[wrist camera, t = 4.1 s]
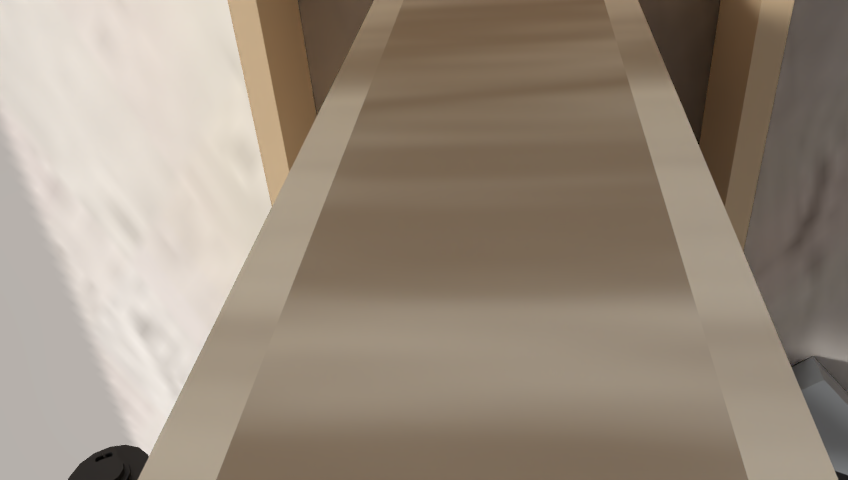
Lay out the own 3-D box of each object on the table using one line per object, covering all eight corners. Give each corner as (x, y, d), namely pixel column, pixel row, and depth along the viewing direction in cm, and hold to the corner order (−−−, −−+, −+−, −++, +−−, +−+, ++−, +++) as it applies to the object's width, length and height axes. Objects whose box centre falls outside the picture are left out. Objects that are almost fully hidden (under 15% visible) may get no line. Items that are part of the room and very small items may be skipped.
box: (395, -44, 18) (123, 507, 5) (615, -54, 17) (862, 538, 5) (422, 266, 23) (314, 911, 11) (593, 267, 22) (687, 952, 10)
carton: (222, -285, 15) (20, -285, 9) (804, -337, 14) (1035, -379, 8) (343, 383, 26) (288, 596, 20) (681, 391, 25) (737, 621, 18)
